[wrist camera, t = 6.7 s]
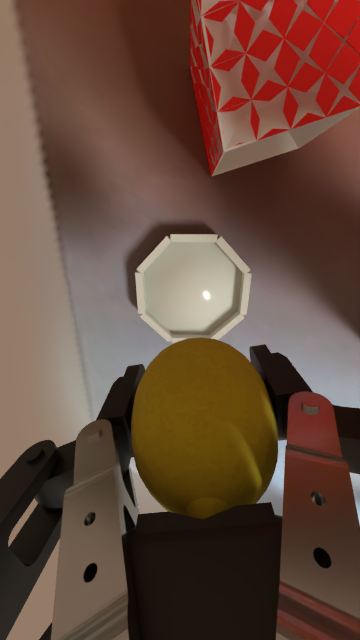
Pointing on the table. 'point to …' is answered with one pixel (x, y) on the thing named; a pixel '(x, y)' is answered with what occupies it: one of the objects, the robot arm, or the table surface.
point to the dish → (192, 287)
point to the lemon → (203, 429)
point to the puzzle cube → (271, 74)
